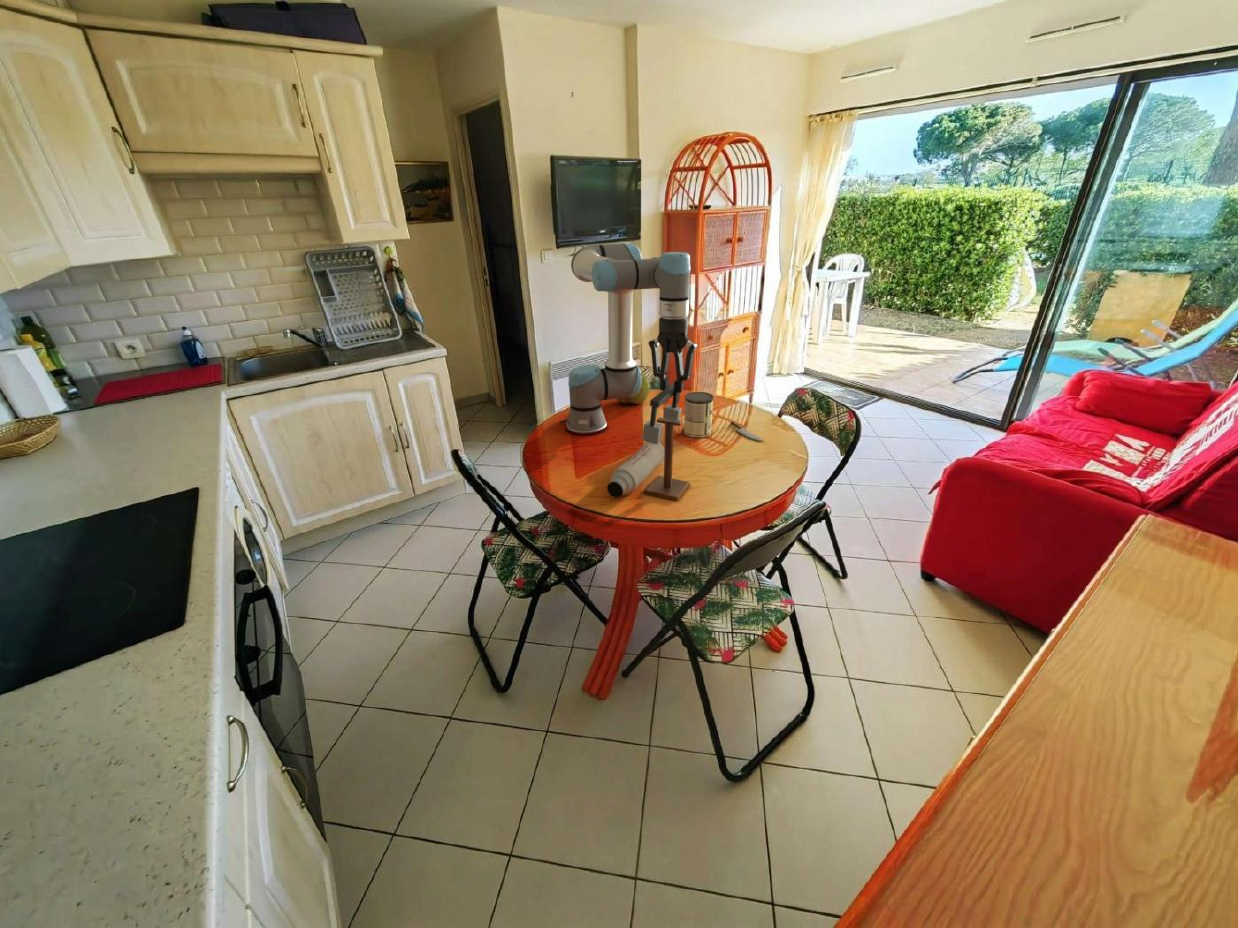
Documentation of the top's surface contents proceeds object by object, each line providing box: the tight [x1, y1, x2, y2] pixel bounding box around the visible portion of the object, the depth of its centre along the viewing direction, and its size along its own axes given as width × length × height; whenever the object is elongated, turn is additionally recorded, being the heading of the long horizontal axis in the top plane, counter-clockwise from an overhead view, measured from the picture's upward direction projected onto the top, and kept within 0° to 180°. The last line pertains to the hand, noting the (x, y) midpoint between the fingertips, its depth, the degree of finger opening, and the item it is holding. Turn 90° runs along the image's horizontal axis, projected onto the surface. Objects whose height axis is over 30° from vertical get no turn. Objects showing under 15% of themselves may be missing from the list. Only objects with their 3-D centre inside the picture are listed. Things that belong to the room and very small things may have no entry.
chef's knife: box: [730, 421, 764, 442], centre depth 188 cm, size 19×1×3 cm
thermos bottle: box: [606, 442, 665, 499], centre depth 154 cm, size 8×8×28 cm
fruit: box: [616, 372, 651, 405], centre depth 217 cm, size 16×14×15 cm
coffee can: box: [683, 391, 715, 438], centre depth 187 cm, size 10×10×14 cm
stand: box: [644, 417, 690, 501], centre depth 147 cm, size 10×10×22 cm
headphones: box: [641, 382, 683, 445], centre depth 141 cm, size 4×17×12 cm, turn 153°
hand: (670, 402), depth 143 cm, fingers closed on headphones, 2 cm apart
